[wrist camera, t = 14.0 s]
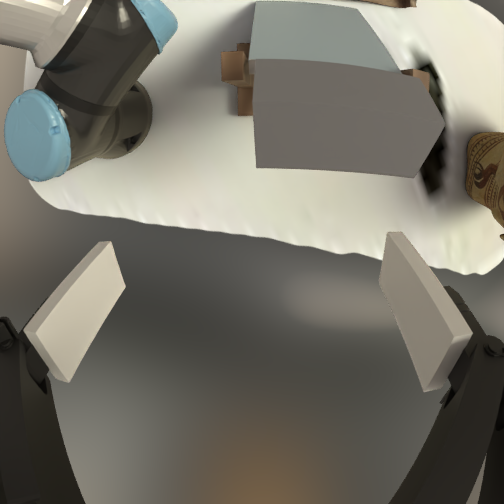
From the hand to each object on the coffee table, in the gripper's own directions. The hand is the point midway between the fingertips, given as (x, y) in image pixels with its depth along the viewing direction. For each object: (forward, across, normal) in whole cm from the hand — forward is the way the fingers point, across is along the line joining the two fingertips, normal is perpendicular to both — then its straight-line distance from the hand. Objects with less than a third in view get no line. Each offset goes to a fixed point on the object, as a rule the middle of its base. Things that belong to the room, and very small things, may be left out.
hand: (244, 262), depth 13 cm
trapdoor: (+26, +8, +11) cm, 29 cm away
